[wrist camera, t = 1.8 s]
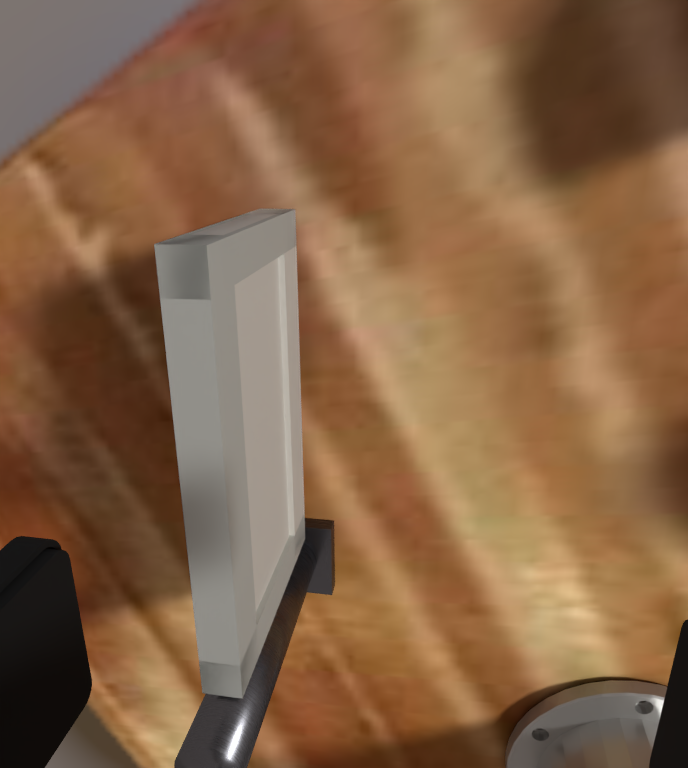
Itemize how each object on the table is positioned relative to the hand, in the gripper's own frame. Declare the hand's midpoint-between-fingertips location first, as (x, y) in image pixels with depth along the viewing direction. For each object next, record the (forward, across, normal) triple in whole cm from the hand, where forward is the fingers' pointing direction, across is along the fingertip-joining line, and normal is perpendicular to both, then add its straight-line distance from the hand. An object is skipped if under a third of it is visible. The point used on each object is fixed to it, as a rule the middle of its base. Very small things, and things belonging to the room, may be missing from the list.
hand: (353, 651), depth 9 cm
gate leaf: (+19, +6, +4) cm, 20 cm away
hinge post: (+20, +6, +13) cm, 25 cm away
